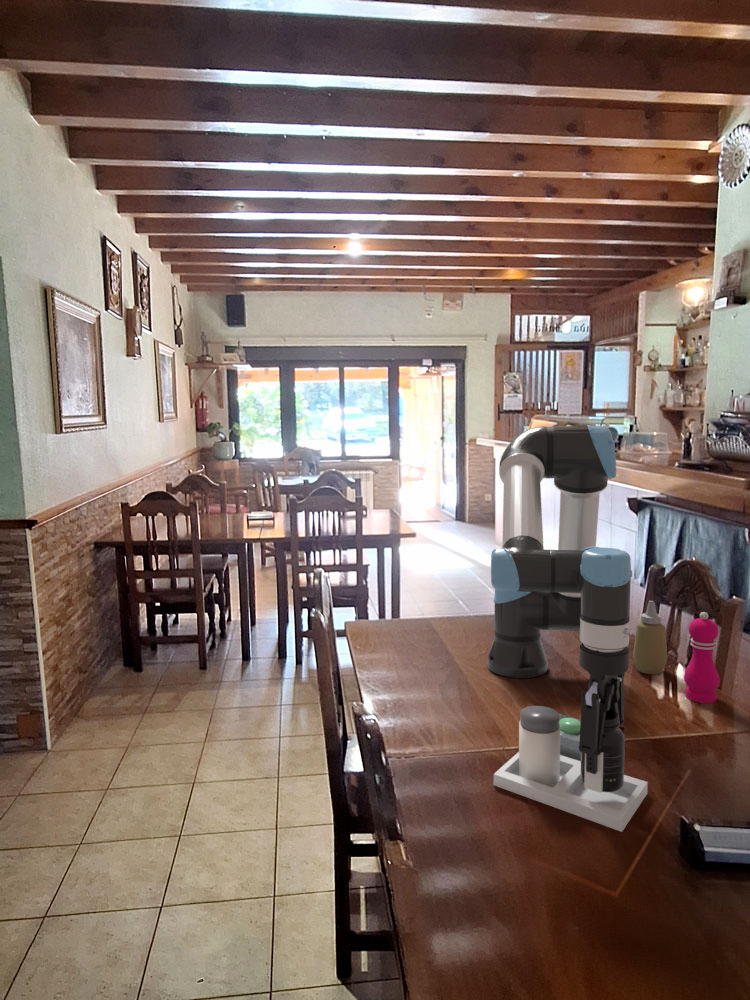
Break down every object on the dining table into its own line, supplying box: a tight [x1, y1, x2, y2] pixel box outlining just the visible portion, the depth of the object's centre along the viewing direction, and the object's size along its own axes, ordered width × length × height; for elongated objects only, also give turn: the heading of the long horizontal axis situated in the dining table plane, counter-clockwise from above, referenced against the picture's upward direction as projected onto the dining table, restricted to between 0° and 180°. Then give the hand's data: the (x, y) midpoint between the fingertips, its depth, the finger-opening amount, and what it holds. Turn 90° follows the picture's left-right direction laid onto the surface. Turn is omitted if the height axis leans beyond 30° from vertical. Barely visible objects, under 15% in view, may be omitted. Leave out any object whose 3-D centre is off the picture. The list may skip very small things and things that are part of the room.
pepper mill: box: [683, 611, 721, 704], centre depth 148 cm, size 7×7×20 cm
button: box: [559, 717, 581, 736], centre depth 127 cm, size 4×4×3 cm
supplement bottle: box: [580, 709, 626, 792], centre depth 108 cm, size 7×7×12 cm
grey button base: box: [559, 713, 581, 761], centre depth 128 cm, size 9×9×4 cm
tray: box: [493, 751, 649, 833], centre depth 112 cm, size 22×13×2 cm, turn 52°
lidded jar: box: [518, 705, 561, 788], centre depth 115 cm, size 7×7×12 cm
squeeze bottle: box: [632, 600, 669, 675], centre depth 164 cm, size 8×8×18 cm
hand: (601, 778), depth 109 cm, fingers closed on supplement bottle, 7 cm apart
